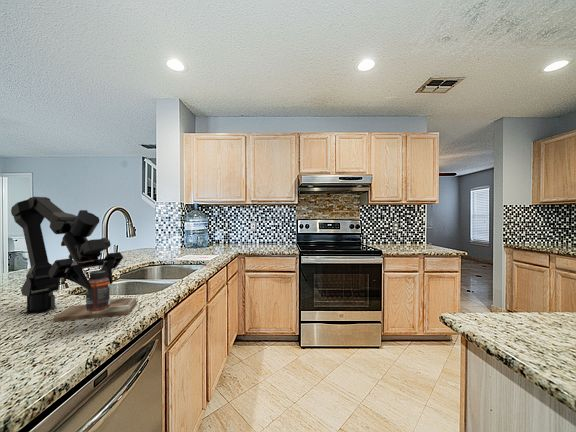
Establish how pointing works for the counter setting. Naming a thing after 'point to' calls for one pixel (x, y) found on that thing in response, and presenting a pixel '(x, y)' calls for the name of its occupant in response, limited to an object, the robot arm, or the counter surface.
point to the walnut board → (115, 309)
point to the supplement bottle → (98, 292)
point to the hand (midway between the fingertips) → (100, 285)
